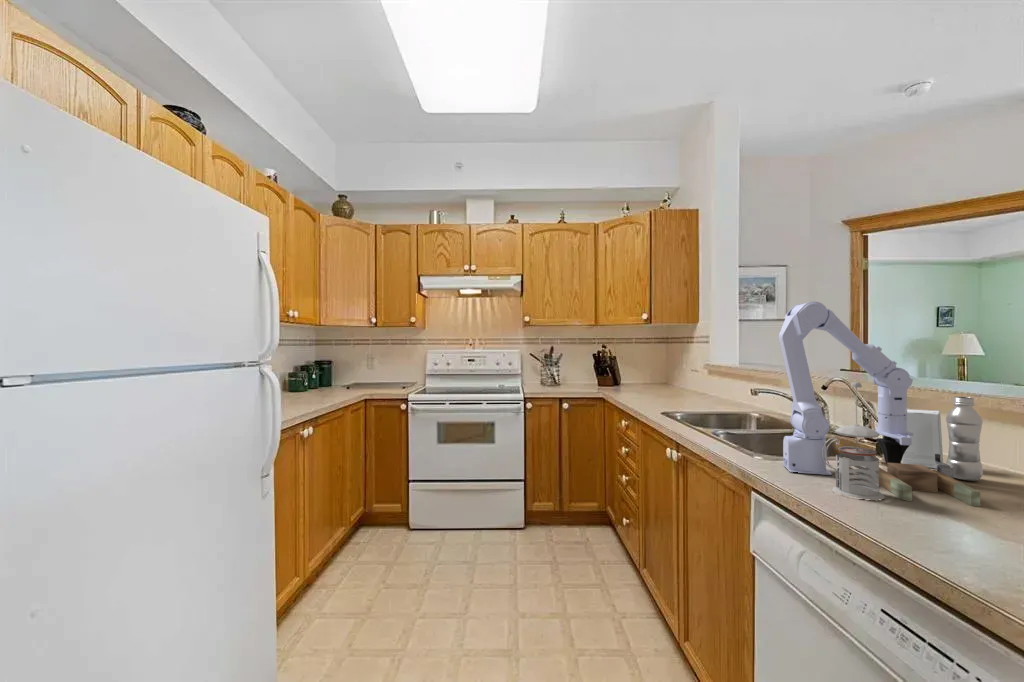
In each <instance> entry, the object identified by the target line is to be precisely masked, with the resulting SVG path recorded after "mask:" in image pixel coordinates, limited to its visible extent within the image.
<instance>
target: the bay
mask: <svg viewBox="0 0 1024 682" xmlns="http://www.w3.org/2000/svg"><path fill="white" fill-rule="evenodd" d="M932 470H933V471H935V472H937V474H938V477H937V489H938V490H939V489H940V490H941V491H943V492H945V493H947V494H949V495H950V496H953V497H954V498H956V499H958V500H960V501H962V502H963V503H965V504H966V505H969V506H971V507H981V491H979V490H977V489H975V488H973V487H972V486H971V487H970V486H969V485H967V484H964V482H963V483H962V482H961V481H958V479H957V480H956V478H954V479H953V478H951V477H949V476H947V475H944V474H942V473H940V472H938V471H937V469H932ZM879 486H881V487H883V488H885V489H886V490H887V491H889V492H890V493H892V494H893V495H894V496H896V497H897V498H899V499H900V500H901V501H903V500H906V501H905V502H913V490H912V487H911V486H909V485H908V484H906V483H904V482H903V481H901V480H899V479H898V478H896V477H894V476H893V475H891V474H889V473H888V472H887V471H886V470H884V469H883V468H881V467H879Z"/></svg>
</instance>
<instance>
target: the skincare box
mask: <svg viewBox="0 0 1024 682" xmlns="http://www.w3.org/2000/svg"><path fill="white" fill-rule="evenodd" d="M907 432H912V433H913V436H909V437H911V443H912V445H909V447H908V448H907V449H906V451H905V453H904V455H903V457H902V461H901V464H916V465H924V466H926V467H928V468H929V469H934V470H937V465H938V464H936V463H935V454H940V461H941V462H943V463H944V453H943V452H944V451H943V439H942V438H943V436H942V420H941V411H940V410H930V409H929V410H926V409H908V408H907Z"/></svg>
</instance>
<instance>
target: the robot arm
mask: <svg viewBox="0 0 1024 682" xmlns="http://www.w3.org/2000/svg"><path fill="white" fill-rule="evenodd" d="M784 317H785V318H784V321H783V324H782V326H781V329H780V331H779V334H778V339H779V340H778V341H779V344H780V349H781V352H782V358H783V362H784V365H785V371H786V375H787V379H788V384H789V389H790V392H791V393H790V394H791V396H792V403H791V407H790V408H791V415H790V424H791V426H792V427H793V429H794V431H793V435H785V436H783V441H782V443H783V444H782V445H783V446H782V449H783V450H782V455H783V463H782V465H783V467H784V468H785V467H786V468H787V469H788V470H789V471H790V472H789V471H788V470H787V469H786V468H785V469H786V470H787V471H788V472H789V473H793V472H798V473H797V474H809V475H810V474H811V475H812V474H813V475H823V476H825V475H827V476H828V475H829V476H832V474H833V473H832V472H831V471H830V470H829V469H827V465H826V464H825V462H824V460H823V457H822V448H823V446H824V444H825V442H826V441H827V439H826V438H827V436H826V435H827V434H828V433H829V431H830V427H831V426H830V422H829V420H828V419H827V417H825V414H823V410H822V407H821V405H820V404H819V402H818V401H817V399H816V398H817V397H816V395H815V388H814V385H813V380H812V377H811V372H810V368H809V364H808V359H807V356H806V350H805V347H804V339H805V338H806V337H807V336H808V335H809V333H810V332H811V331H812V330H820V331H823V332H827V333H829V334H830V335H831V336H832V337H833V338H834V339H836V340H837V342H839V343H840V344H842V345H843V346H844V347H845V348H847V349H848V350H849V351H851V359H852V360H853V361H854V363H856V364H857V365H858V366H859V367H860V368H861V369H863V370H864V371H865V372H866V373H867V374H868V375H869V376H870V377H871V378H872V381H873V384H874V385H877V419H878V421H877V423H878V424H877V426H875V431H876V432H877V433H879V434H880V435H879V436H883V438H879V437H876V442H877V444H878V445H879V448H880V449H881V451H882V454H883V457H884V462H885V465H886V466H887V463H901V464H902V457H903V455H904V453H905V451H906V449H907V448H908V447H909V445H912V443H911V437H909V436H913V433H912V432H907V409H908V389H910V387H911V386H912V384H913V381H914V380H913V378H911V375H910V374H909V372H908V371H907V370H906V369H904V368H901V367H897V364H898V363H897V362H896V361H895V360H891V359H890V358H889V357H887V356H886V355H885V354H884V353H883V352H882V350H883V349H882V347H880V346H879V345H875V344H873V343H864V342H863V341H862V340H861V339H860V338H859V336H857V335H856V334H855V333H854V332H853V331H852V330H851V329H850V328H849V327H848V326H847V325H846V324H845V323H844V322H842V320H841V319H840V318H839V317H838V316H837V315H836V314H835V313H834V311H833V310H831V309H829V308H827V307H826V306H825V305H824V304H823V303H822V302H821V301H820V302H819V301H815V300H813V301H808V302H806V303H798V304H796V305H794V306H792V307H791V308H790V309H789V311H787V312H786V314H785V316H784ZM826 449H827V444H826V445H825V447H824V450H823V451H824V459H825V461H826V454H825V452H826ZM826 462H827V461H826Z"/></svg>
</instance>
